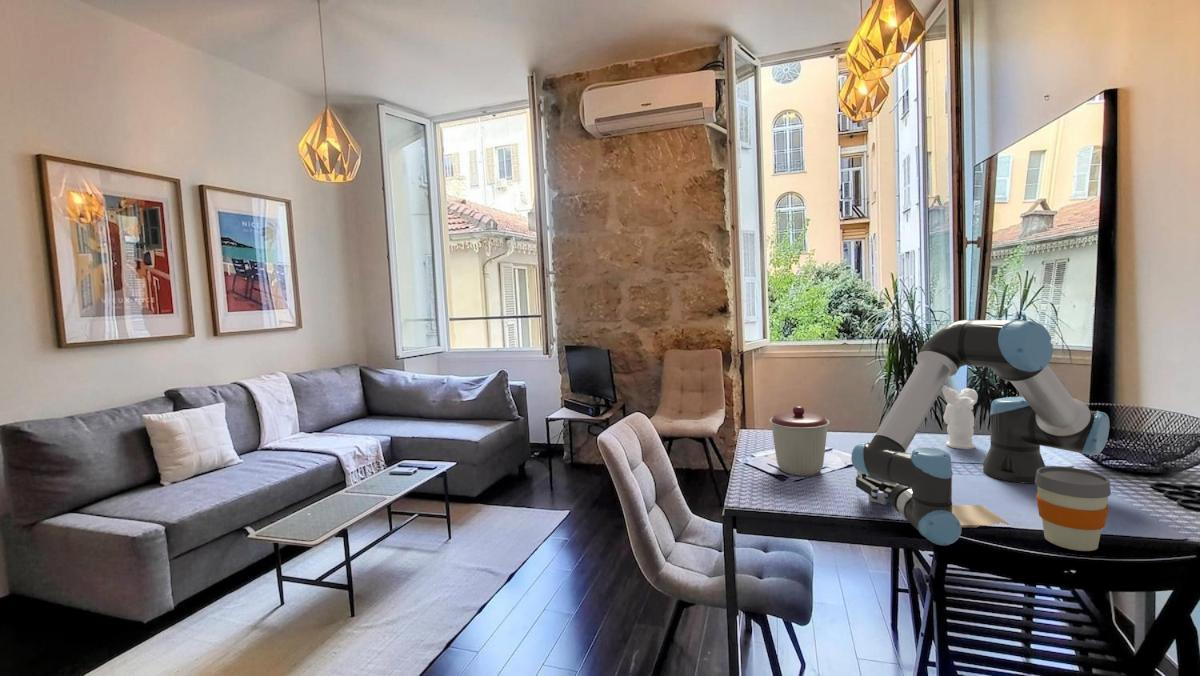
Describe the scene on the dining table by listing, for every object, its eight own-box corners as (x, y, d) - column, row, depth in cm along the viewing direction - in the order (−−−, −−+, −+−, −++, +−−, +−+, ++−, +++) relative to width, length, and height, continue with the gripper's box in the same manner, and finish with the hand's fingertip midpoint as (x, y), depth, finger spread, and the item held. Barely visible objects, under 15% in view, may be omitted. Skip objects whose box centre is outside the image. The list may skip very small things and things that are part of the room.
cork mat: (981, 507, 139) (981, 505, 139) (1011, 527, 127) (1011, 525, 127) (915, 507, 141) (915, 505, 141) (938, 527, 129) (938, 525, 129)
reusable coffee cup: (1126, 552, 114) (1128, 482, 112) (1071, 557, 113) (1072, 487, 111) (1070, 526, 126) (1071, 464, 125) (1019, 531, 125) (1020, 468, 124)
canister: (794, 458, 186) (792, 398, 184) (842, 471, 171) (841, 405, 169) (758, 470, 176) (756, 406, 174) (806, 485, 161) (805, 415, 159)
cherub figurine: (970, 442, 193) (971, 382, 191) (991, 453, 181) (992, 388, 179) (934, 442, 195) (935, 382, 193) (952, 453, 182) (953, 388, 181)
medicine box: (885, 505, 143) (884, 473, 143) (867, 501, 147) (867, 470, 146) (896, 496, 149) (896, 466, 148) (879, 493, 152) (879, 463, 151)
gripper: (866, 518, 131) (836, 485, 153) (959, 518, 128) (915, 484, 151) (865, 488, 130) (836, 459, 153) (959, 487, 128) (915, 458, 150)
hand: (875, 471), depth 152 cm, fingers closed on medicine box, 8 cm apart
